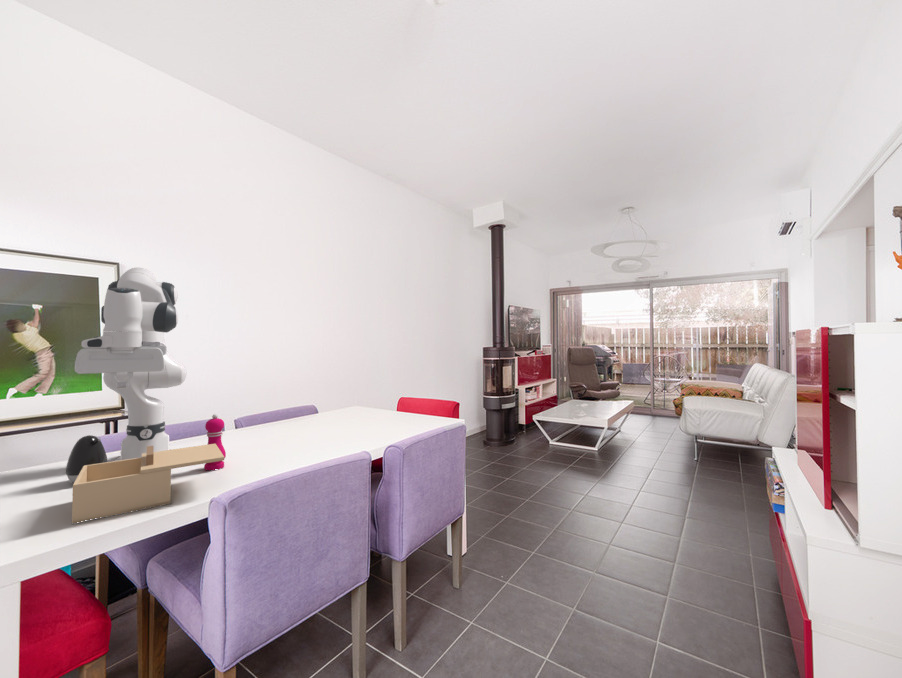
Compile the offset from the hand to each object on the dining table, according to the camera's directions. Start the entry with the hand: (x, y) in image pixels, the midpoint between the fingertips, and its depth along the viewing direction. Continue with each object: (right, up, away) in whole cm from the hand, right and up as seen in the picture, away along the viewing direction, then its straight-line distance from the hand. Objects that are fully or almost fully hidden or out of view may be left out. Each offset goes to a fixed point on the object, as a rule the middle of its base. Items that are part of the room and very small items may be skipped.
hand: (122, 387), depth 112 cm
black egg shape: (-23, -33, +13) cm, 43 cm away
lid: (+14, -23, +5) cm, 28 cm away
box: (+4, -33, -3) cm, 33 cm away
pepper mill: (+11, -34, +27) cm, 44 cm away
